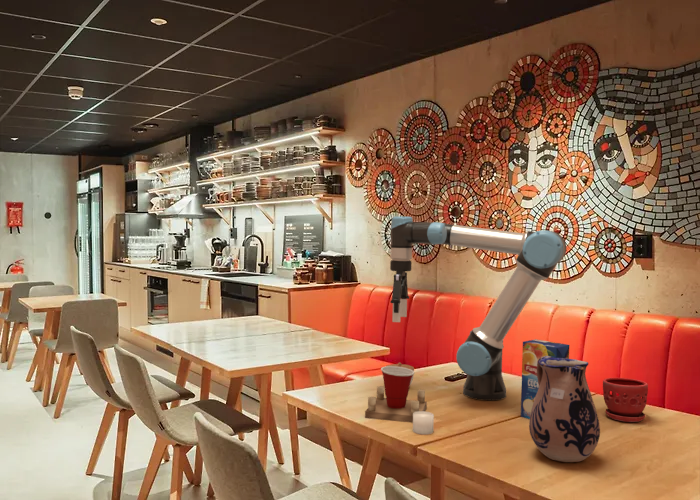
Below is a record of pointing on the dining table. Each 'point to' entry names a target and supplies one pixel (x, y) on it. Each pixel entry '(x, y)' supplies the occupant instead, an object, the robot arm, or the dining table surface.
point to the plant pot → (625, 399)
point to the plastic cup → (396, 385)
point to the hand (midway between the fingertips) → (399, 319)
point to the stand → (382, 411)
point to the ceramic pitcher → (564, 411)
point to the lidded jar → (404, 367)
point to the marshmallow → (423, 422)
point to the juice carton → (529, 368)
